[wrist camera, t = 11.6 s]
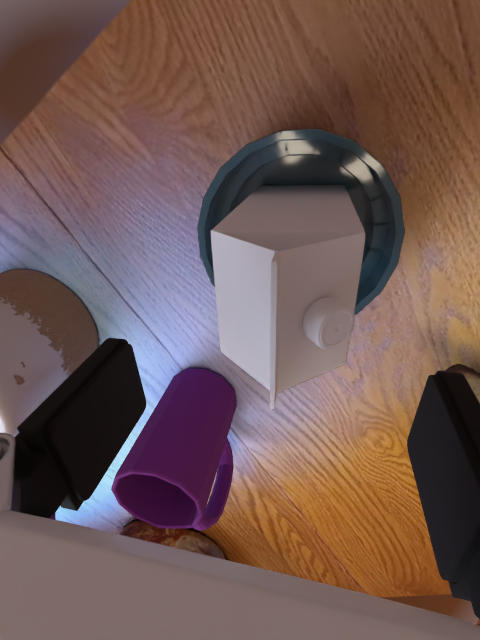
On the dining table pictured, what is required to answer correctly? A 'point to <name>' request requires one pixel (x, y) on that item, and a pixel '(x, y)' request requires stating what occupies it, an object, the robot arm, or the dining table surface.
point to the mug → (181, 455)
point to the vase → (38, 341)
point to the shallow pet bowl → (314, 169)
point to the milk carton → (288, 282)
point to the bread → (173, 538)
